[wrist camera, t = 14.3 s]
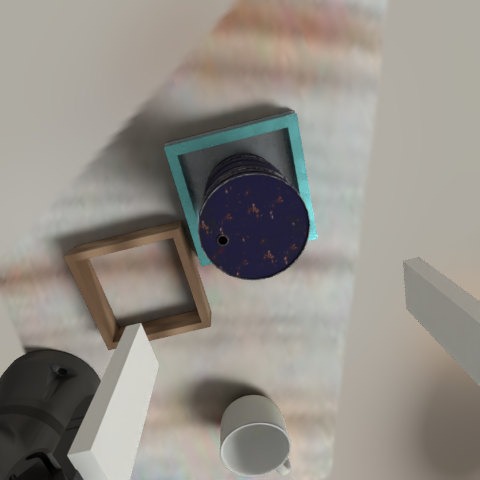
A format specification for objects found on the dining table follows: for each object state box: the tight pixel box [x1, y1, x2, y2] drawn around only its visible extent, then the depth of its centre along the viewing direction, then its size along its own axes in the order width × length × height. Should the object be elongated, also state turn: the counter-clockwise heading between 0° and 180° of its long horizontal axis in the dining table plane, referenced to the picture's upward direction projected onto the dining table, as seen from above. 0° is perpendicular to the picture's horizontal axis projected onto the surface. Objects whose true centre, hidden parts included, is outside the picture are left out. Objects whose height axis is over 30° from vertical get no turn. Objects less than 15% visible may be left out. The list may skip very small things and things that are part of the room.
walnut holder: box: [64, 220, 211, 350], centre depth 45 cm, size 15×15×4 cm
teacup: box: [220, 395, 291, 477], centre depth 53 cm, size 14×11×8 cm
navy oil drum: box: [198, 153, 310, 280], centre depth 35 cm, size 10×10×15 cm
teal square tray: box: [164, 110, 317, 266], centre depth 41 cm, size 16×16×4 cm
